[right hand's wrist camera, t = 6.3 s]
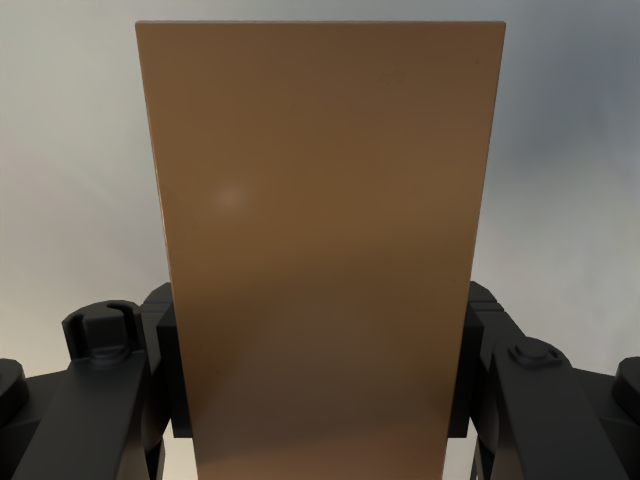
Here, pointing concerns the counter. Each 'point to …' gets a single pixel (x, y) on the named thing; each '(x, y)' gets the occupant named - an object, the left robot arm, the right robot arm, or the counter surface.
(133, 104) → the counter surface
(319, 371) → the bar
